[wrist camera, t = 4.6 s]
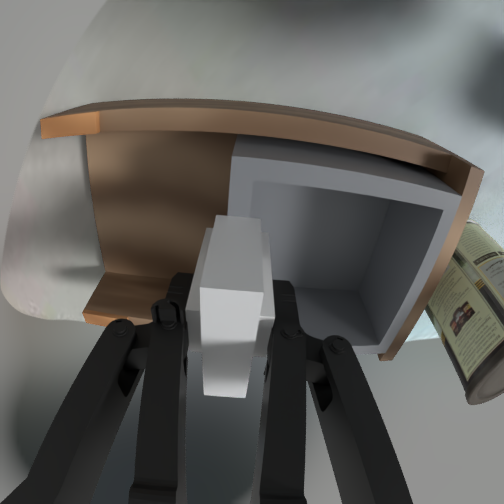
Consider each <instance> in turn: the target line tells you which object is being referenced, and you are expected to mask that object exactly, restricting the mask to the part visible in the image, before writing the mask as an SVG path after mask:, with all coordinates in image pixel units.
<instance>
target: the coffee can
mask: <svg viewBox="0 0 504 504" xmlns="http://www.w3.org/2000/svg"><path fill="white" fill-rule="evenodd" d="M425 311H426V313H427V314H428V316H429V318H430V320H431V322H432V323H433V325H434V327H435V329H436V331H437V333H438V335H439V337H440V339H441V340H442V343H443V345H444V347H445V349H446V351H447V353H448V355H449V357H450V359H451V361H452V363H453V365H454V367H455V370H456V372H457V374H458V376H459V378H460V380H461V383H462V385H463V387H464V390H465V392H466V393H465V396H466V400H467V402H468V404H470V405H477V404H481V403H484V402H487V401H489V400H491V399H494V398H495V397H497V396H499V395H501V394H502V393H504V249H503V248H502V247H501V246H500V245H499V244H498V243H497V242H496V241H495V240H494V239H493V238H492V237H491V236H490V235H489V234H487V233H486V232H485V231H484V230H483V229H482V227H481V226H480V225H479V224H478V223H477V222H475V221H474V220H472V219H468V220H467V223H466V225H465V228H464V230H463V232H462V235H461V237H460V240H459V242H458V244H457V246H456V249H455V251H454V253H453V255H452V257H451V259H450V262H449V264H448V266H447V268H446V270H445V272H444V274H443V276H442V278H441V280H440V282H439V284H438V285H437V287H436V289H435V291H434V293H433V295H432V297H431V298H430V300H429V302H428V304H427V306H426V307H425Z"/></svg>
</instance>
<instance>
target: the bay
mask: <svg viewBox="0 0 504 504" xmlns="http://www.w3.org/2000/svg"><path fill="white" fill-rule="evenodd" d="M40 123H41V136H42V139H46V138H54V137H63V136H74V135H86V146H87V159H88V169H89V179H90V187H91V195H92V202H93V209H94V215H95V221H96V227H97V232H98V238H99V243H100V248H101V253H102V258H103V262H104V267H105V271H106V272H105V274H104V275H103V277H102V279H101V280H100V282H99V284H98V285H97V287H96V289H95V291H94V292H93V294H92V296H91V298H90V299H89V301H88V303H87V305H86V307H85V309H84V310H83V312H82V313H83V316H84V318H85V321H86V323H90V324H95V325H100V326H106V327H107V325H108V324H109V323H110V322H112V321H114V320H115V319H120V318H123V319H128V320H130V321H131V322H132V323H133V324H134V325H142V324H148V323H150V322H153V320H152V314H151V307H152V305H153V304H154V303H155V302H156V301H158V300H160V299H165V297H166V294H167V291H168V288H169V285H170V282H171V279H172V278H173V277H174V276H175V275H176V274H177V273H178V272H182V273H193V274H194V273H195V269H196V265H197V261H198V257H199V254H200V250H201V246H202V242H203V239H204V235H205V231H206V228H213V227H214V223H215V218H216V215H224V216H227V214H228V200H229V186H230V173H231V160H232V153H233V150H234V146H235V142H236V138H237V135H238V134H247V135H258V136H267V137H276V138H284V139H292V140H299V141H306V142H313V143H319V144H325V145H331V146H337V147H342V148H347V149H353V150H358V151H363V152H367V153H372V154H376V155H381V156H385V157H390V158H394V159H398V160H402V161H406V162H410V163H413V164H417V165H420V166H422V167H423V168H424V169H426V170H427V171H429V172H430V173H432V174H433V175H434V176H436V177H437V178H439V179H440V180H441V181H443V182H444V183H445V184H447V185H448V186H449V187H451V188H452V189H453V190H455V191H456V192H457V193H459V194H460V195H461V196H462V198H461V201H460V204H459V207H458V209H457V212H456V215H455V217H454V220H453V223H452V225H451V228H450V230H449V233H448V235H447V237H446V240H445V242H444V244H443V247H442V249H441V251H440V254H439V256H438V258H437V260H436V262H435V264H434V267H433V269H432V271H431V273H430V275H429V277H428V279H427V281H426V283H425V285H424V287H423V289H422V291H421V293H420V295H419V297H418V298H417V300H416V302H415V304H414V306H413V308H412V309H411V311H410V313H409V315H408V317H407V318H406V320H405V322H404V323H403V325H402V327H401V329H400V330H399V332H398V334H397V335H396V337H395V338H394V340H393V342H392V343H391V345H390V346H389V348H388V350H387V351H386V353H380V354H378V357H379V360H380V361H388V360H393V358H394V357H395V355H396V354H397V352H398V351H399V349H400V348H401V346H402V345H403V343H404V342H405V340H406V339H407V337H408V335H409V334H410V332H411V331H412V329H413V328H414V326H415V324H416V323H417V321H418V319H419V318H420V316H421V314H422V313H423V311H424V309H425V307H426V306H427V304H428V302H429V300H430V298H431V297H432V295H433V293H434V291H435V289H436V287H437V285H438V284H439V282H440V280H441V278H442V276H443V274H444V272H445V270H446V268H447V266H448V264H449V262H450V259H451V257H452V255H453V253H454V251H455V249H456V246H457V244H458V242H459V240H460V237H461V235H462V232H463V230H464V228H465V225H466V223H467V220H468V218H469V215H470V212H471V210H472V207H473V204H474V202H475V199H476V196H477V193H478V190H479V187H480V184H481V181H482V178H483V175H484V171H483V170H482V169H480V168H478V167H477V166H475V165H473V164H472V163H470V162H468V161H467V160H465V159H463V158H461V157H460V156H458V155H456V154H454V153H452V152H451V151H449V150H447V149H445V148H443V147H441V146H439V145H437V144H435V143H433V142H431V141H429V140H427V139H425V138H423V137H421V136H418V135H415V134H412V133H409V132H405V131H402V130H398V129H395V128H391V127H388V126H384V125H380V124H376V123H372V122H368V121H364V120H360V119H355V118H351V117H346V116H341V115H337V114H331V113H326V112H321V111H315V110H309V109H303V108H296V107H289V106H282V105H274V104H265V103H256V102H245V101H231V100H214V99H140V100H123V101H111V102H100V103H91V104H87V105H84V106H80V107H77V108H74V109H70V110H67V111H64V112H61V113H58V114H55V115H52V116H49V117H46V118H43V119H40Z"/></svg>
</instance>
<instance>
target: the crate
mask: <svg viewBox="0 0 504 504" xmlns="http://www.w3.org/2000/svg"><path fill="white" fill-rule="evenodd" d="M461 198H462V196H461V195H460V194H459V193H457V192H456V191H455V190H453V189H452V188H451V187H449V186H448V185H447V184H445V183H444V182H443V181H441V180H440V179H439V178H437V177H436V176H434V175H433V174H432V173H430V172H429V171H427V170H426V169H424V168H423V167H422V166H420V165H417V164H413V163H410V162H406V161H402V160H398V159H394V158H390V157H385V156H381V155H376V154H372V153H367V152H363V151H358V150H353V149H347V148H342V147H337V146H331V145H325V144H319V143H313V142H306V141H299V140H292V139H284V138H276V137H267V136H258V135H247V134H238V135H237V138H236V142H235V146H234V150H233V153H232V160H231V173H230V186H229V200H228V214H227V216H224V215H216V218H215V223H214V227H213V231H212V235H211V240H210V244H209V248H208V253H207V257H206V261H205V266H204V270H203V275H202V280H201V284H200V317H201V346H202V366H203V384H204V395H212V396H225V397H238V398H245V397H246V391H247V386H248V380H249V374H250V369H251V364H252V358H253V353H254V347H255V341H256V336H257V330H258V324H259V318H260V312H261V307H262V301H263V295H264V284H263V261H262V240H261V232H264V233H268V235H269V246H270V258H271V270H272V279H273V280H286V281H290V283H291V284H292V285H293V287H294V290H295V297H296V303H297V308H298V315H299V321H300V326H301V327H302V329H303V330H304V332H305V333H307V334H308V335H310V336H312V337H315V338H318V339H321V340H324V339H325V338H327V337H328V336H331V335H339V336H342V337H344V338H345V339H347V340H348V341H349V342H350V344H351V345H352V348H353V350H354V352H355V354H380V353H386V351H387V350H388V348H389V346H390V345H391V343H392V342H393V340H394V338H395V337H396V335H397V334H398V332H399V330H400V329H401V327H402V325H403V323H404V322H405V320H406V318H407V317H408V315H409V313H410V311H411V309H412V308H413V306H414V304H415V302H416V300H417V298H418V297H419V295H420V293H421V291H422V289H423V287H424V285H425V283H426V281H427V279H428V277H429V275H430V273H431V271H432V269H433V267H434V264H435V262H436V260H437V258H438V256H439V254H440V251H441V249H442V247H443V244H444V242H445V240H446V237H447V235H448V233H449V230H450V228H451V225H452V223H453V220H454V217H455V215H456V212H457V209H458V207H459V204H460V201H461Z"/></svg>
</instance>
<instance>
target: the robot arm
mask: <svg viewBox="0 0 504 504" xmlns="http://www.w3.org/2000/svg"><path fill="white" fill-rule="evenodd" d="M212 231H213V228H206V231H205V235H204V239H203V242H202V246H201V250H200V254H199V257H198V261H197V265H196V269H195V273H194V274H193V273H182V272H178V273H177V274H176V275H175V276H174V277H173V278H172V279H171V282H170V285H169V288H168V291H167V294H166V297H165V299H160V300H158V301H156V302H155V303H154V304H153V305H152V307H151V314H152V320H153V322H150V323H148V324H142V325H134V324H133V323H132V322H131V321H130V320H128V319H123V318H120V319H115V320H114V321H112V322H110V323H109V324H108V325H107V327H106V328H105V330H104V332H103V333H102V335H101V336H100V338H99V340H98V341H97V343H96V345H95V346H94V348H93V350H92V352H91V353H90V355H89V356H88V358H87V360H86V362H85V363H84V365H83V367H82V368H81V370H80V372H79V374H78V375H77V378H76V379H75V381H74V383H73V384H72V386H71V388H70V390H69V392H68V394H67V396H66V397H65V399H64V401H63V403H62V405H61V407H60V409H59V411H58V413H57V414H56V416H55V418H54V420H53V422H52V424H51V427H50V428H49V430H48V433H47V434H46V437H45V439H44V441H43V443H42V445H41V447H40V449H39V451H38V454H37V456H36V458H35V460H34V463H33V465H32V467H31V469H30V472H29V474H28V477H27V478H26V479H25V480H24V481H23V482H22V483H21V484H20V485H19V486H18V487H17V488H16V489H15V490H14V491H13V492H12V493H11V494H10V495H9V496H7V498H6V499H4V500H3V501H2V502H1V503H0V504H90V502H91V500H92V497H93V494H94V491H95V489H96V486H97V483H98V481H99V478H100V475H101V473H102V470H103V467H104V465H105V462H106V460H107V457H108V454H109V452H110V449H111V447H112V444H113V442H114V439H115V437H116V435H117V432H118V430H119V427H120V425H121V422H122V420H123V418H124V415H125V413H126V411H127V408H128V406H129V404H130V401H131V399H132V396H133V394H134V392H135V389H136V387H137V385H138V383H139V381H140V378H141V376H142V374H143V372H144V369H145V375H144V382H143V390H142V397H141V406H140V414H139V424H138V434H137V446H136V459H135V477H134V482H133V484H132V486H131V487H130V491H129V504H187V497H186V449H185V448H186V445H185V444H186V439H185V437H186V390H187V365H188V358H187V351H188V346H189V351H193V352H202V346H201V317H200V284H201V280H202V275H203V270H204V266H205V261H206V257H207V253H208V248H209V244H210V240H211V235H212ZM261 240H262V261H263V284H264V295H263V301H262V307H261V312H260V318H259V324H258V330H257V336H256V341H255V347H254V353H253V357H266V355H267V364H266V368H265V371H264V375H265V380H264V389H263V399H262V409H261V418H260V428H259V436H258V446H257V453H256V462H255V470H254V478H253V487H252V495H251V501H250V504H307V501H306V498H305V496H304V473H305V472H304V471H305V444H306V443H305V442H306V381H308V384H309V387H310V391H311V394H312V398H313V401H314V404H315V408H316V411H317V415H318V418H319V421H320V425H321V429H322V432H323V435H324V439H325V443H326V446H327V450H328V453H329V457H330V460H331V464H332V467H333V471H334V475H335V478H336V482H337V485H338V489H339V493H340V496H341V500H342V504H413V502H412V499H411V496H410V493H409V490H408V487H407V484H406V481H405V478H404V476H403V473H402V470H401V467H400V464H399V461H398V459H397V456H396V453H395V450H394V448H393V445H392V442H391V440H390V437H389V435H388V432H387V429H386V427H385V424H384V422H383V419H382V417H381V414H380V412H379V409H378V407H377V404H376V402H375V400H374V398H373V394H372V392H371V390H370V387H369V385H368V382H367V380H366V378H365V376H364V373H363V371H362V369H361V366H360V364H359V362H358V359H357V357H356V355H355V352H354V350H353V348H352V345H351V344H350V342H349V341H348V340H347V339H345V338H344V337H342V336H339V335H331V336H328V337H327V338H325V339H324V340H321V339H318V338H315V337H312V336H310V335H308V334H307V333H305V332H304V330H303V329H302V327H301V326H300V321H299V315H298V308H297V303H296V297H295V290H294V287H293V285H292V284H291V283H290V281H286V280H273V279H272V270H271V258H270V246H269V235H268V233H264V232H261Z"/></svg>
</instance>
